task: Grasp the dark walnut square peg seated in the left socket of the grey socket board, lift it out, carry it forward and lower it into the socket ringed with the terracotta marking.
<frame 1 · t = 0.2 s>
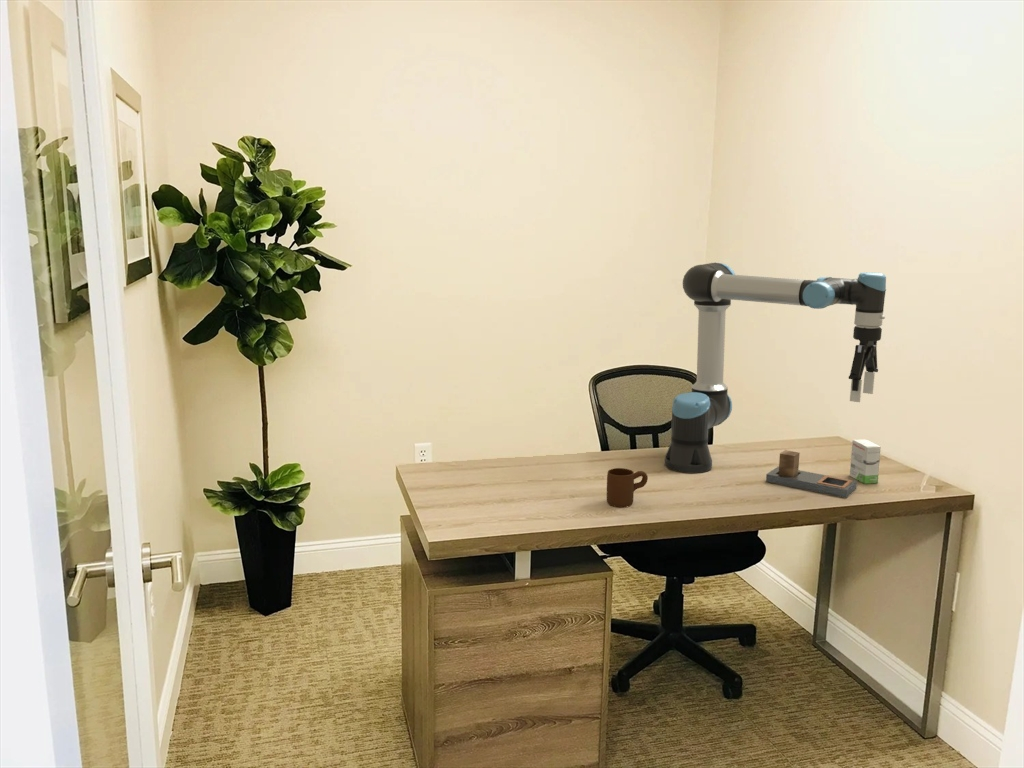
hand: (861, 397, 252), 27 cm above the table, fingers open, 13 cm apart
grey socket board: (810, 485, 258), on the table
mug: (627, 503, 243), on the table
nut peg: (787, 481, 262), resting in grey socket board
ink box: (863, 479, 264), on the table
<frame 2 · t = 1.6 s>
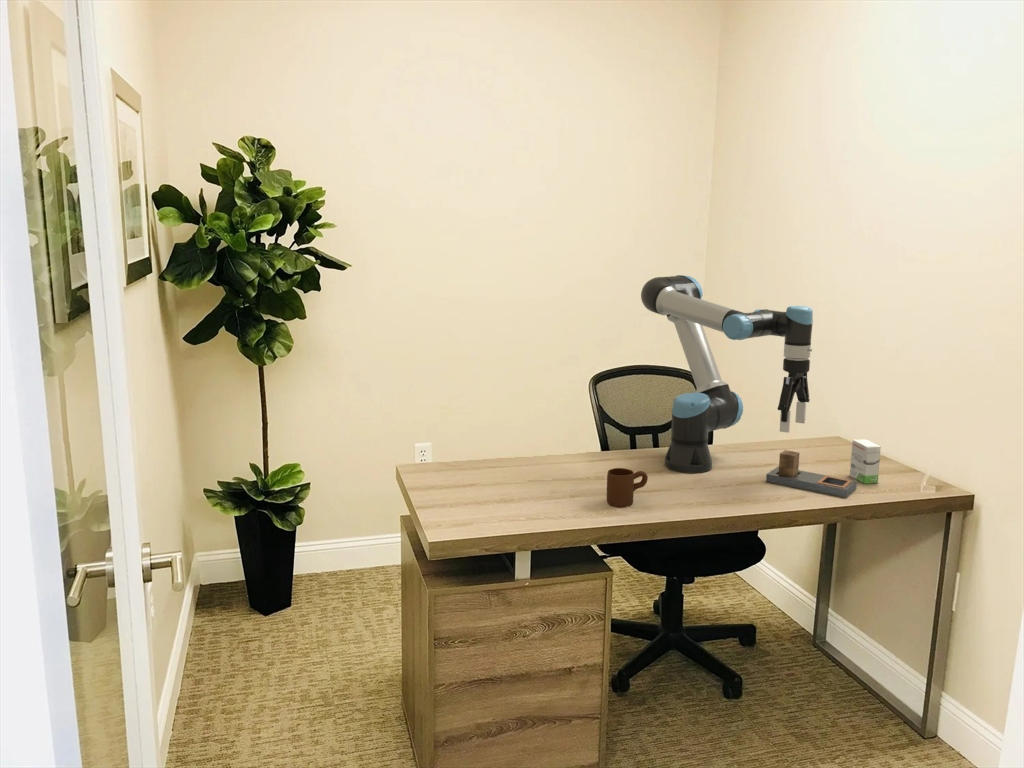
hand: (792, 427, 258), 17 cm above the table, fingers open, 13 cm apart
nothing on the table moved.
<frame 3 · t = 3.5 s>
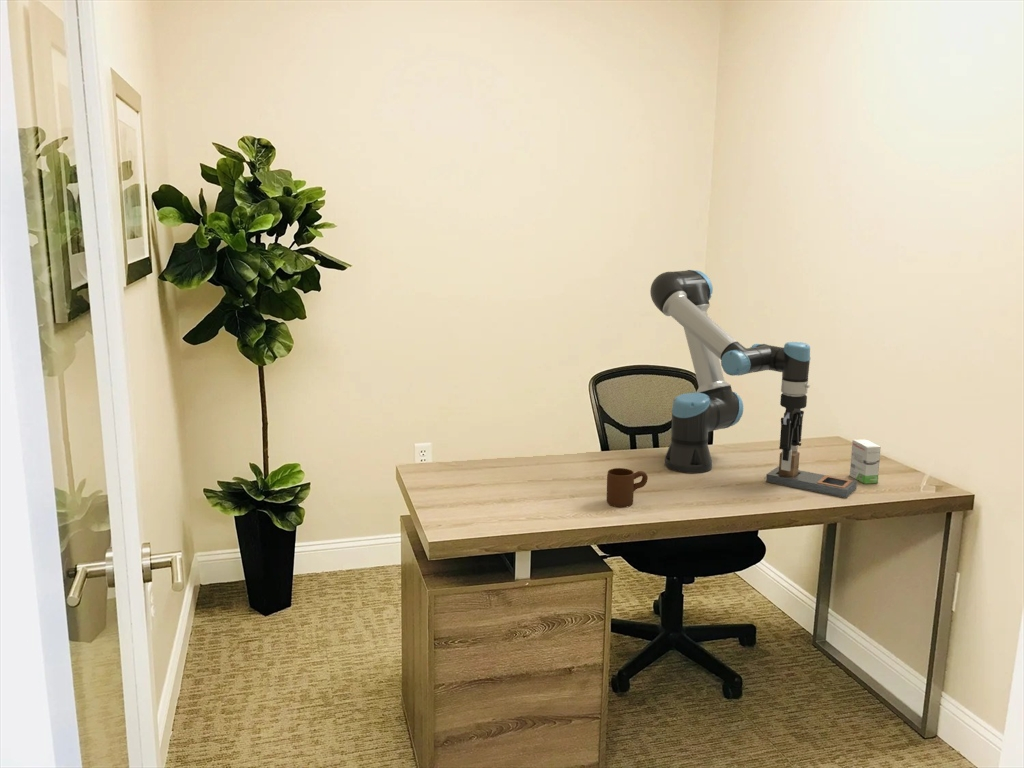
hand: (788, 467, 261), 4 cm above the table, fingers closed on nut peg, 4 cm apart
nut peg: (787, 481, 262), resting in grey socket board, touching gripper
everything else where it was.
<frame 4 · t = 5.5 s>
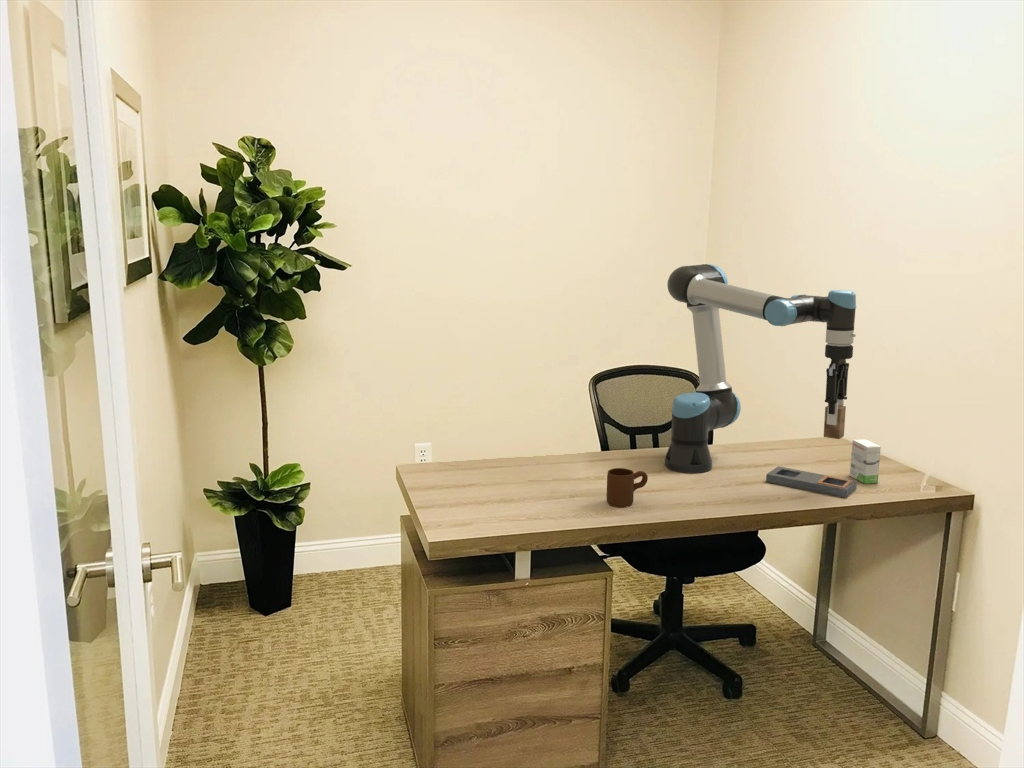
hand: (834, 422, 250), 21 cm above the table, fingers closed on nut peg, 4 cm apart
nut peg: (833, 436, 251), point 16 cm above the table, touching gripper
everything else where it was.
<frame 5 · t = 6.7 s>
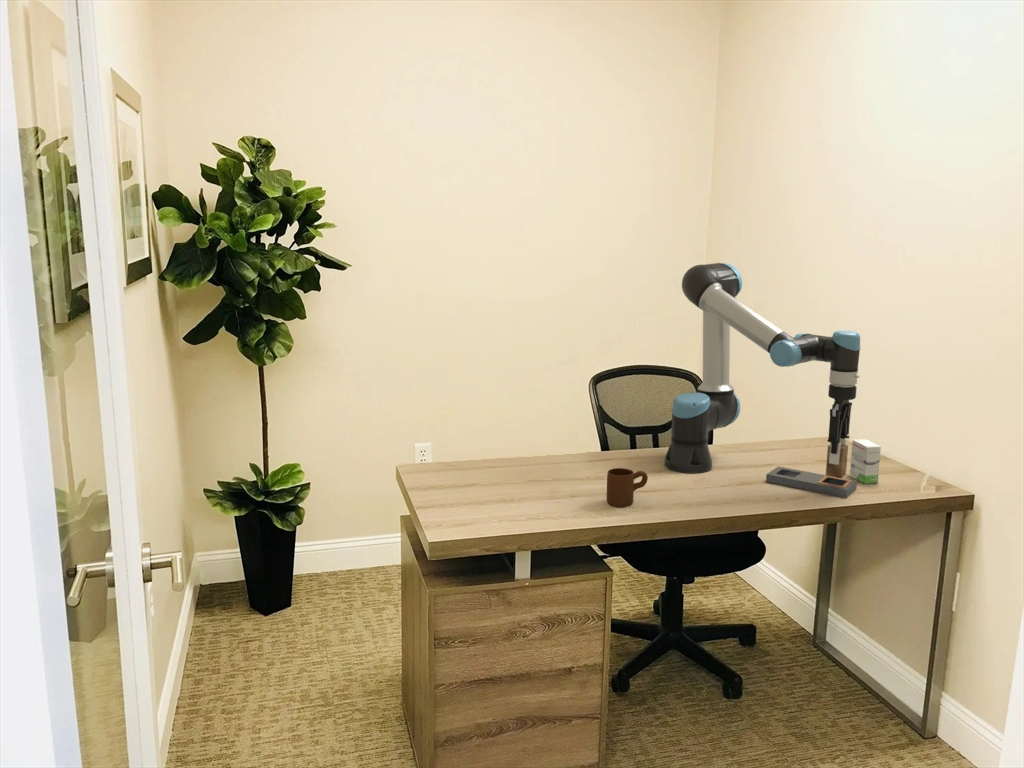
hand: (836, 461, 252), 9 cm above the table, fingers closed on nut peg, 4 cm apart
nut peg: (835, 475, 253), point 5 cm above the table, touching gripper
everything else where it was.
when the fingers open (5 cm above the table, at t = 7.7 s): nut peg drops 1 cm, resting in grey socket board.
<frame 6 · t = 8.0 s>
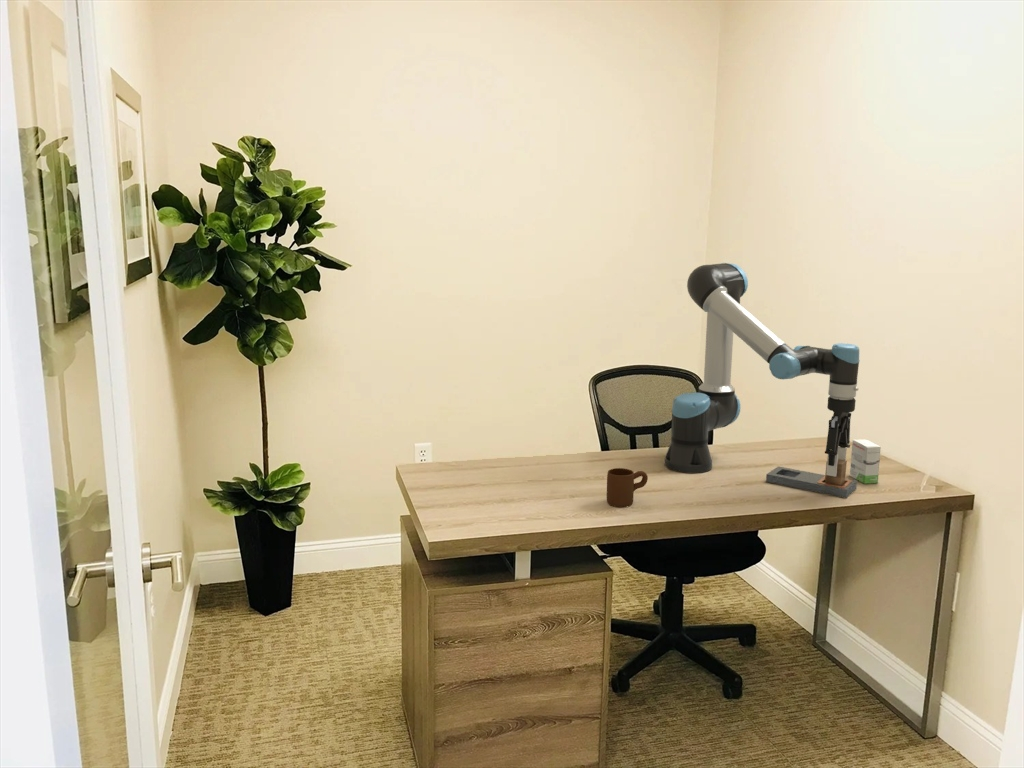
hand: (835, 471, 253), 6 cm above the table, fingers open, 8 cm apart
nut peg: (834, 490, 254), resting in grey socket board
everything else where it was.
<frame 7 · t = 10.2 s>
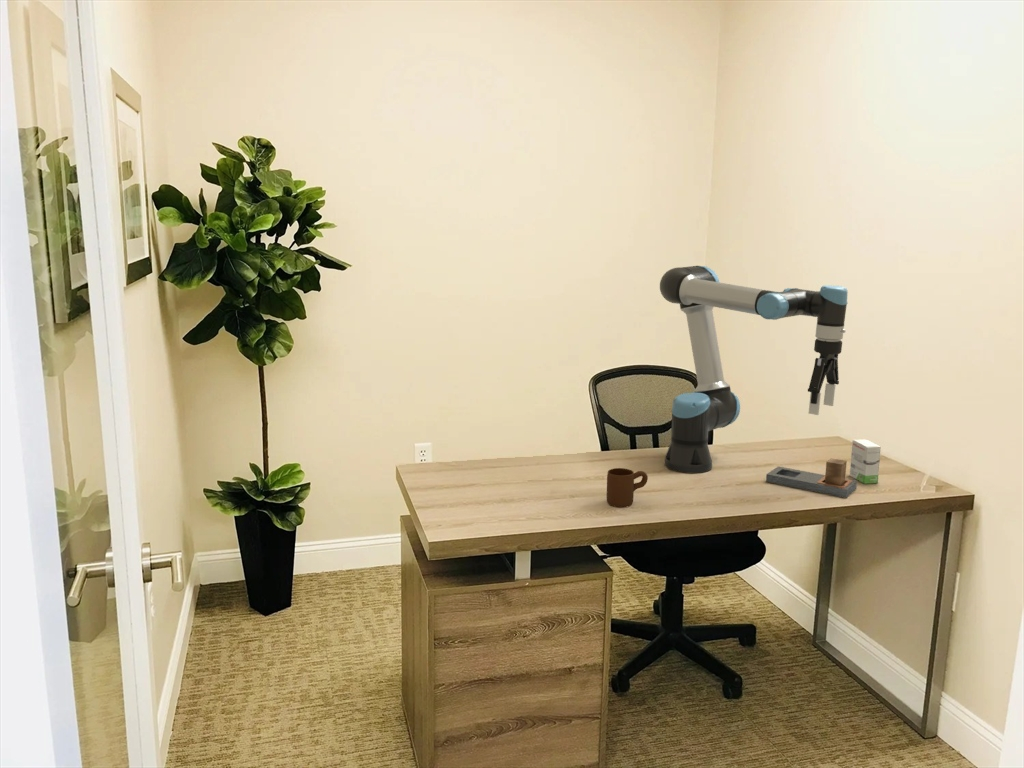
hand: (821, 409, 253), 24 cm above the table, fingers open, 13 cm apart
nothing on the table moved.
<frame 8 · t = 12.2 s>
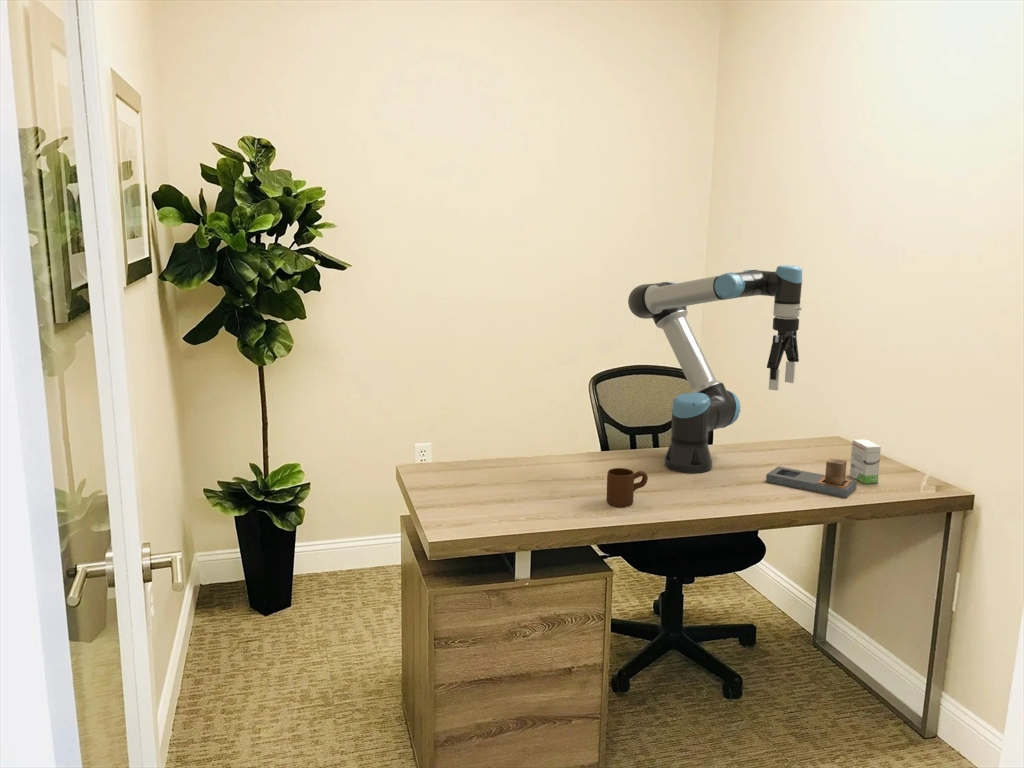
hand: (781, 386, 261), 29 cm above the table, fingers open, 13 cm apart
nothing on the table moved.
at the end: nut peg 0.0 cm from the target spot on the grey socket board, point 0.0 cm above the grey socket board's base; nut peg tilted 0°; the gripper is holding nothing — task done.
